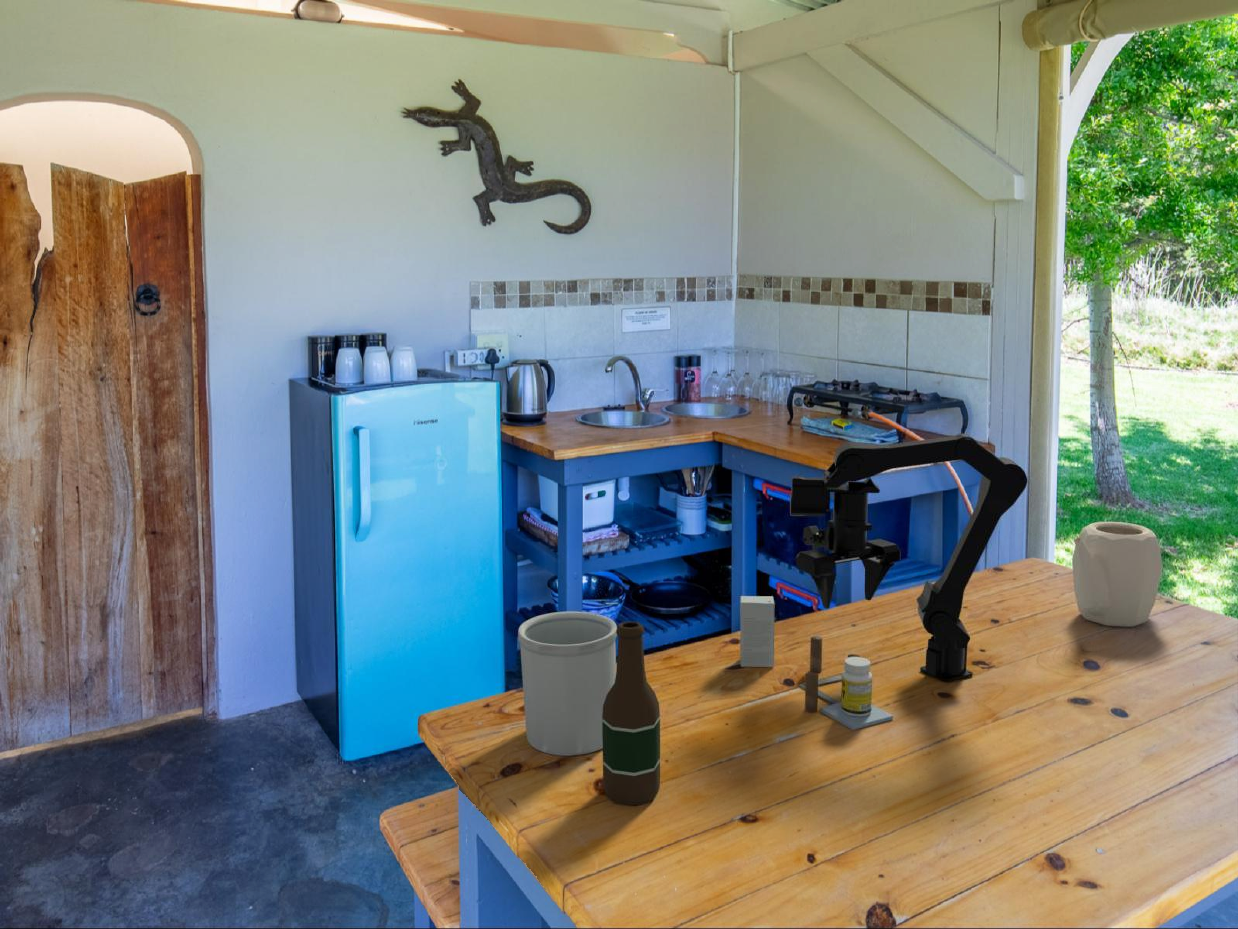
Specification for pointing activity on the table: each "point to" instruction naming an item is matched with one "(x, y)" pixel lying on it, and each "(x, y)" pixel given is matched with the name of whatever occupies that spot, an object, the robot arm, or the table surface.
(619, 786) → the beer bottle
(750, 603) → the skincare box
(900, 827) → the table surface
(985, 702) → the table surface
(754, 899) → the table surface
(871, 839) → the table surface
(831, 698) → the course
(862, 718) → the pad
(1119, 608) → the faceted clay vase
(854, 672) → the supplement bottle
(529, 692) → the utensil holder
